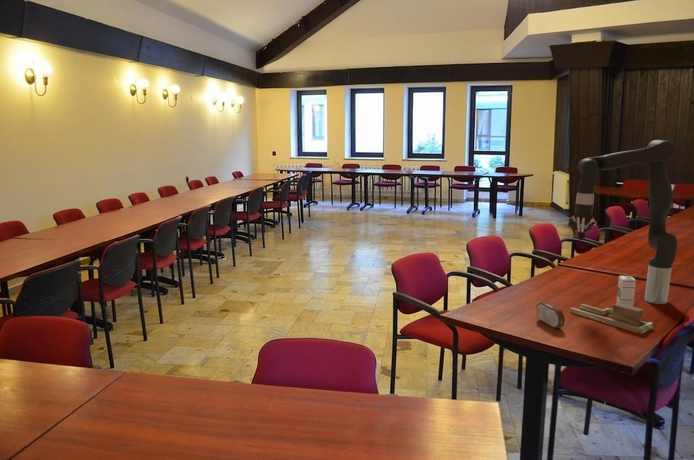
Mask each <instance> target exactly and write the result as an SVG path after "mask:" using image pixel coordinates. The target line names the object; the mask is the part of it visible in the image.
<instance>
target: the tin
mask: <svg viewBox="0 0 694 460" xmlns="http://www.w3.org/2000/svg"><path fill="white" fill-rule="evenodd" d="M536 315H537V317H538V318H539V320H540V321H541V322H543V323H544V324H546V325H548V326H549V327H551V328H553V329H561V328H563V327H564V325H565V321H566V320H565V314H564V313H563V311H562V310H561V309H560V308H559V307H557V306H555V305H553V304H552V303H549V302H548V301H543V302H539V303H538V304H537V305H536Z"/></svg>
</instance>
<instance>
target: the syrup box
mask: <svg viewBox="0 0 694 460" xmlns="http://www.w3.org/2000/svg"><path fill="white" fill-rule="evenodd" d="M636 282H637V280H636V279H635V278H634V277H633V276H629V275H619V276H618V283H617V292H616V293H617V294H616V303H615V304H617V303H621V304H624V305H628V306H632V307H634V301H635V293H636Z"/></svg>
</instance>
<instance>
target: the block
mask: <svg viewBox="0 0 694 460" xmlns="http://www.w3.org/2000/svg"><path fill="white" fill-rule="evenodd" d="M612 309H613V315H612V317H611V319H613V320H616V321H619V322H623V323H626V324H629V325H633V326H636V327H640V326H641V323H642V321H643V314H644V313H643V312H644V309H643V308H639V307H635V306H633V307H632V306H628V305H624V304H621V303H617V304H616V303H615V304H613V307H612Z"/></svg>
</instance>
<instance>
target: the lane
mask: <svg viewBox="0 0 694 460" xmlns="http://www.w3.org/2000/svg"><path fill="white" fill-rule="evenodd" d="M579 308H580V309H579ZM579 308H576V307H570V311H569V312H570V313H572V314H575V315H578V316H582V317H584V318H587V317H588V318H587V319H591V320H594V321H597V322H600V321H601V323H604V324H608V325H610V326H613V327H616V328H621V329H624V330H627V331H630V332H632V333H633V332H634V333H636V334H640V335H642V334H644V333H646V332H649V331H650V330H652V329H653V324H654V323H653V322H650V321H649V322H646V321H643V320H642V323H641V326H640V327H636V326H633V325H629V324H626V323H623V322H619V321H616V320H613V319H612V315H613V308H611V307H605V308H603V309H601V308H598V307H595V306H591V305H588V304H583V303H581V304H580V307H579ZM606 316H607V317H606ZM609 317H611V318H609Z"/></svg>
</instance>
